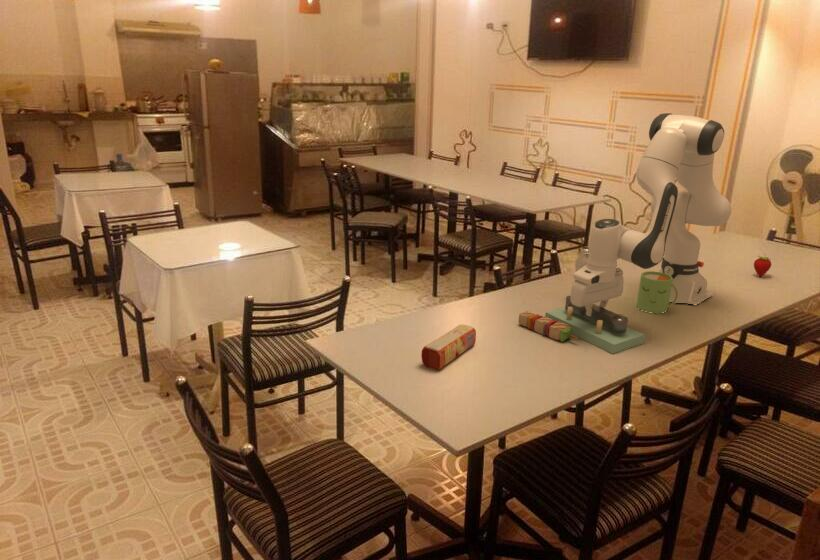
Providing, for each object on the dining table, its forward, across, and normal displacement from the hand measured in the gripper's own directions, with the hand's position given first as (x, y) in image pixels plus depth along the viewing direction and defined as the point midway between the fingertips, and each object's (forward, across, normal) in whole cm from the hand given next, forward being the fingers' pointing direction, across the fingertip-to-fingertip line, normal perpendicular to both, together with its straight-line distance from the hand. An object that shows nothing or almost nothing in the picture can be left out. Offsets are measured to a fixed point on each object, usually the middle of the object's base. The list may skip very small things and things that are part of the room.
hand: (594, 313), depth 191 cm
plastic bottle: (+6, -16, -20) cm, 26 cm away
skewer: (+7, +14, -6) cm, 16 cm away
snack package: (+6, +49, -10) cm, 50 cm away
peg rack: (+6, 0, 0) cm, 6 cm away
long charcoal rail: (+2, 0, 0) cm, 2 cm away
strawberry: (+6, -102, -3) cm, 102 cm away
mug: (+6, -34, -2) cm, 35 cm away
